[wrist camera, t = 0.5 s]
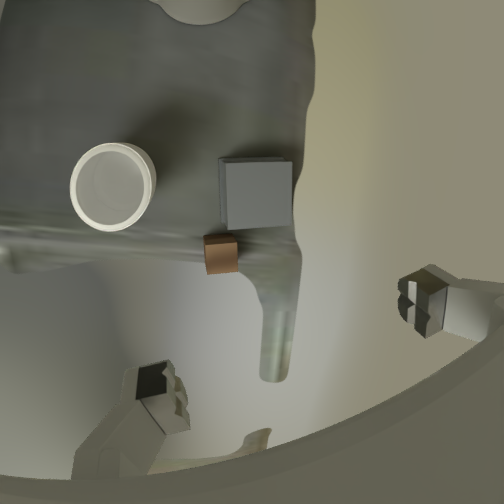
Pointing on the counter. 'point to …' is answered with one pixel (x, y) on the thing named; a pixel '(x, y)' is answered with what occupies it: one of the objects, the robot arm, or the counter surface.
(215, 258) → the cube
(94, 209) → the jar
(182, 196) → the counter surface
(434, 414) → the robot arm
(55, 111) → the counter surface
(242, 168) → the pedestal
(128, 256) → the counter surface
